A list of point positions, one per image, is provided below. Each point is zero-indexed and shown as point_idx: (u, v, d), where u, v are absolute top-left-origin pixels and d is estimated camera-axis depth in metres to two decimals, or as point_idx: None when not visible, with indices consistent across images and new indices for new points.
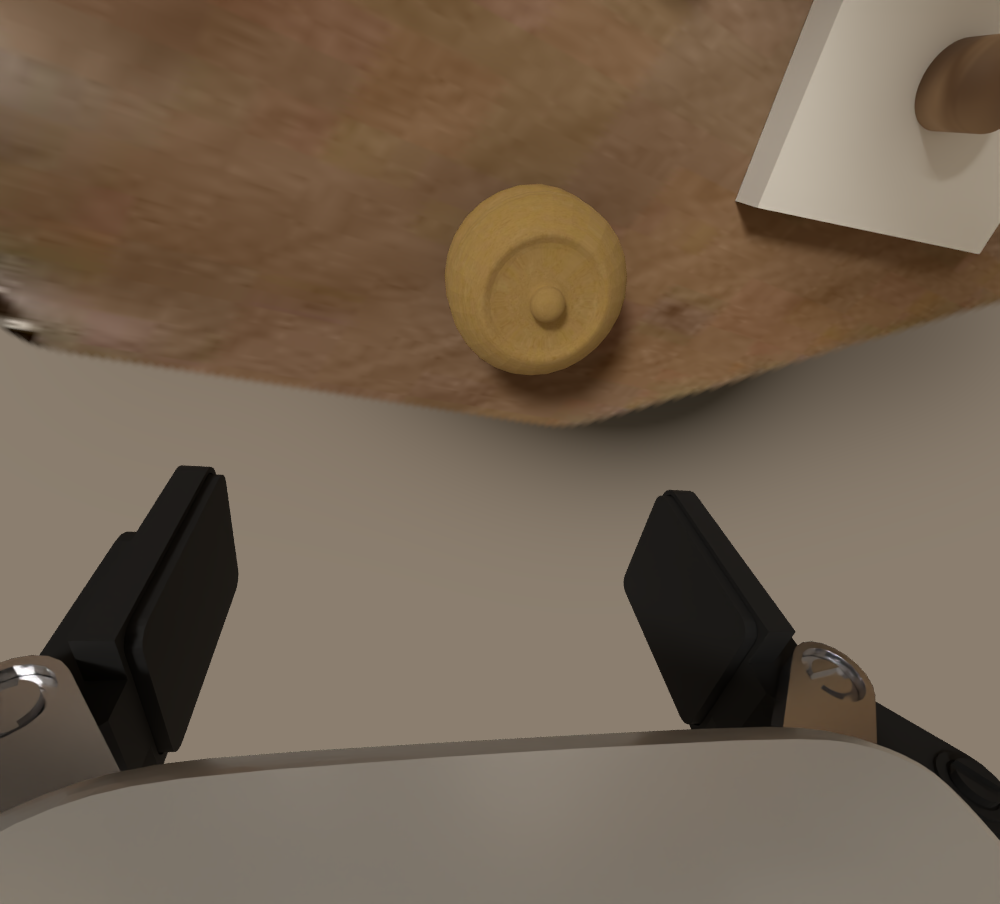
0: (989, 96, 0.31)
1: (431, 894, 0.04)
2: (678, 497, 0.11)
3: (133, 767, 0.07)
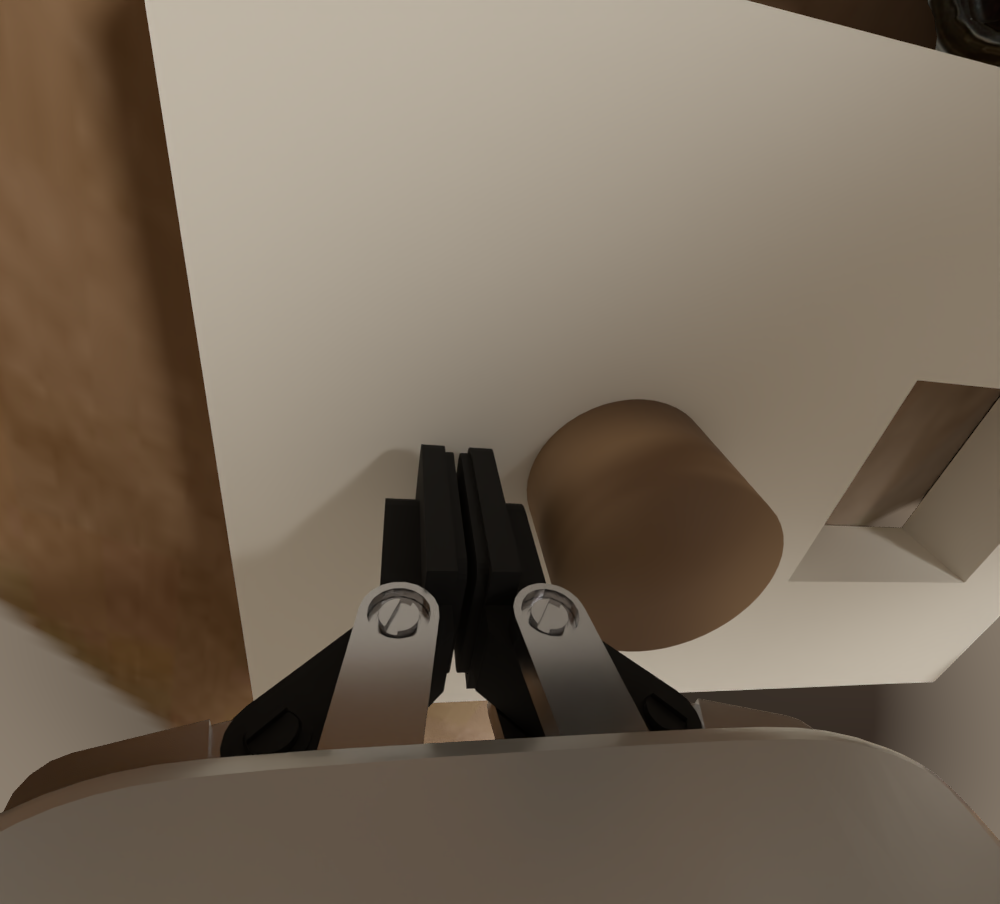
0: (647, 563, 0.11)
1: (431, 893, 0.04)
2: (472, 453, 0.11)
3: (445, 676, 0.09)
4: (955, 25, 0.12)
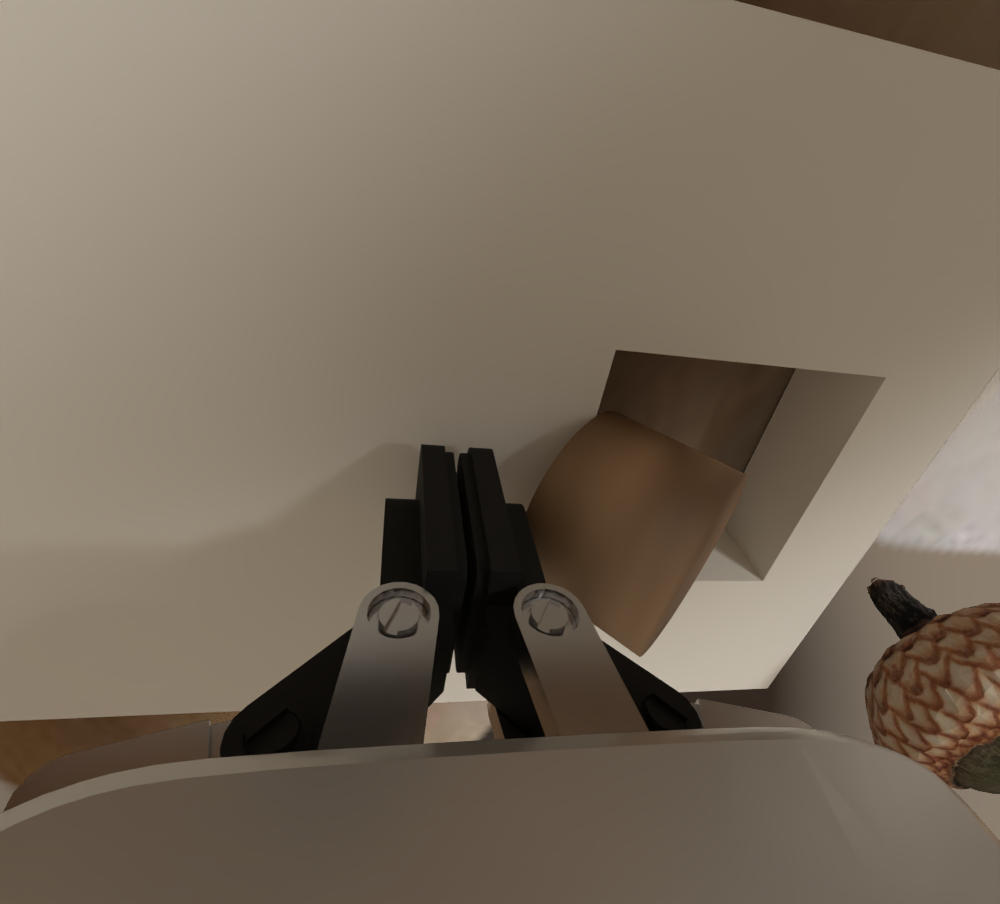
0: (690, 566, 0.12)
1: (431, 894, 0.04)
2: (472, 453, 0.11)
3: (445, 676, 0.09)
4: None
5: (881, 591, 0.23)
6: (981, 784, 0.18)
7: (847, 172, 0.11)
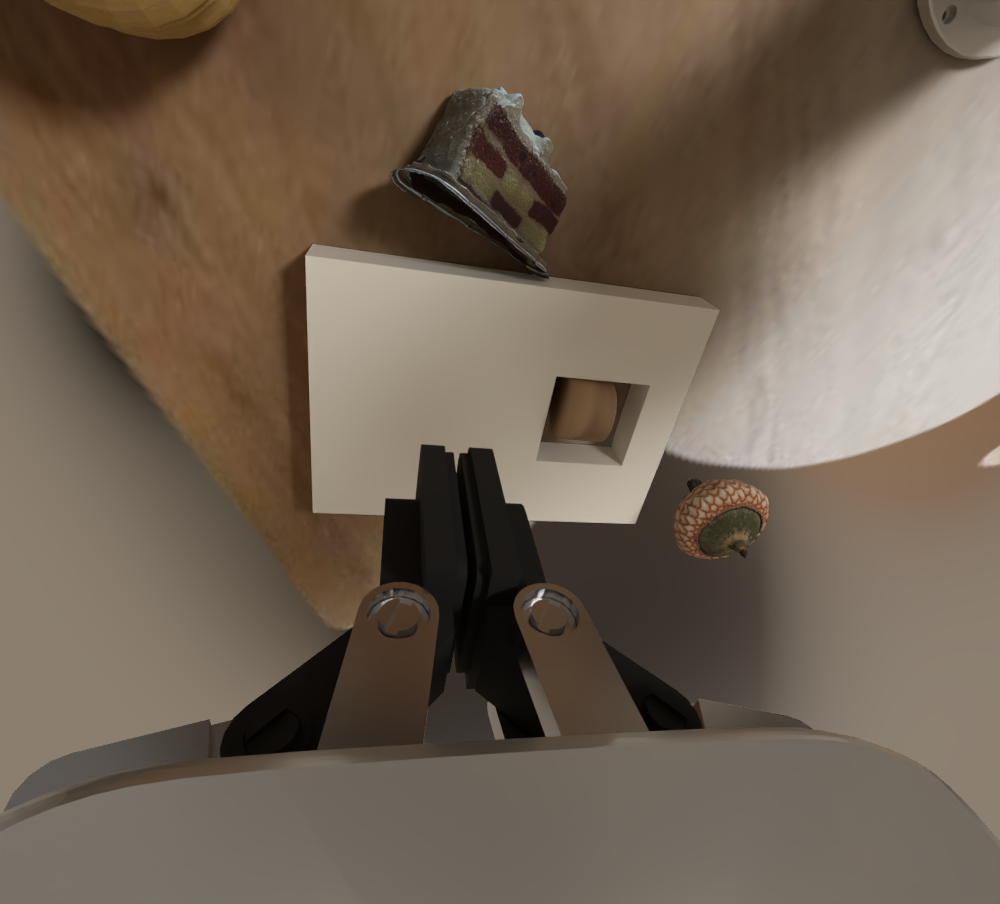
0: None
1: (431, 894, 0.04)
2: (472, 453, 0.11)
3: (445, 676, 0.09)
4: None
5: (691, 483, 0.49)
6: (708, 547, 0.44)
7: (620, 327, 0.37)
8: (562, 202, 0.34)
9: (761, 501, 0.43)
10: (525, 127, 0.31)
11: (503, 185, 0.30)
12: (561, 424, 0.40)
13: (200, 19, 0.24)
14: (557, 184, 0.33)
